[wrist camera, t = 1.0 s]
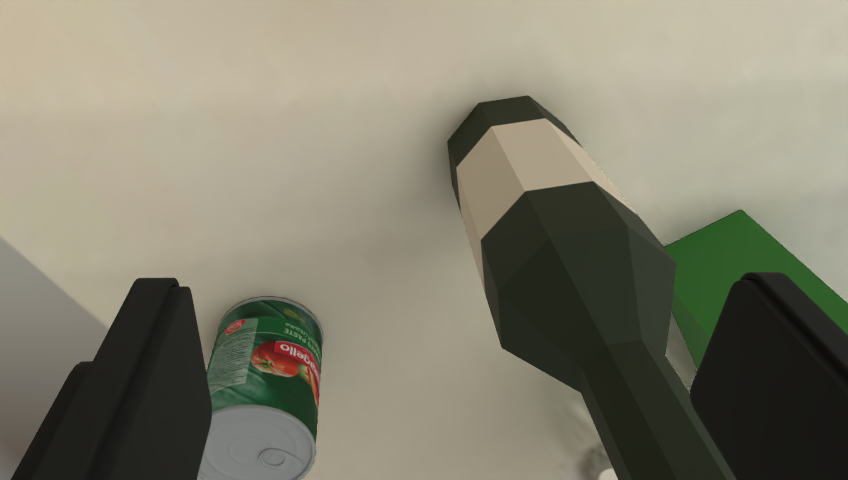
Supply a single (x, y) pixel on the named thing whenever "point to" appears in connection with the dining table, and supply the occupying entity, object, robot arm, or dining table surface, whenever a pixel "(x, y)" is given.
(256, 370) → the canned tomato
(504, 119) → the wine bottle
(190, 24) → the dining table surface
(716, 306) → the hardback book
